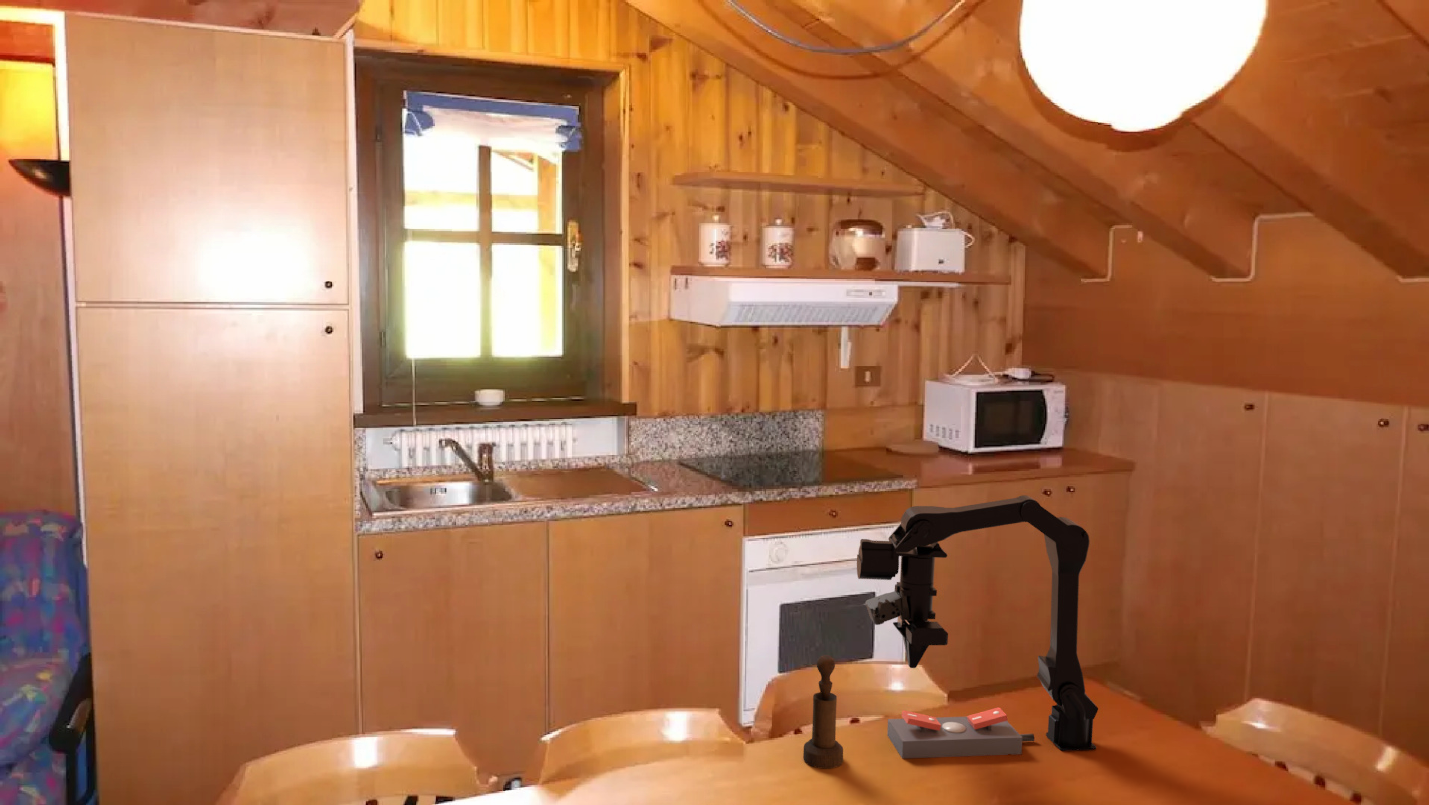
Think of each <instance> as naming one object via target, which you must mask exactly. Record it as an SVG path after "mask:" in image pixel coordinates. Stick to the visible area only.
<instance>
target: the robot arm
mask: <svg viewBox="0 0 1429 805" xmlns="http://www.w3.org/2000/svg"><path fill="white" fill-rule="evenodd" d="M1021 523H1028V524H1029V525H1031V526H1033V527H1034V528H1036V529H1037V531H1039V532H1041V533H1042V534H1043V536H1044V543H1045V544H1044V545H1045V549H1046V554H1047V556H1048V560H1049V563H1050V567H1051V595H1050V596H1051V600H1050V640H1049V641H1050V642H1049V643H1050V645H1049V650H1048V651H1047V653H1046V656H1044V655H1038V656H1037V662H1038V672H1037V674H1036V677H1037V679H1038V680H1039V681H1040V683H1041V685H1042V687H1043V689H1044V690H1045V691H1046V692H1047V694H1048V695H1049V697H1051V700H1053V701H1054V702H1055V703H1056V705H1052V706H1051V713H1050V714H1049V715H1048V723H1047V724H1048V725H1047V726H1048V727H1047V732H1046V733H1045V736H1046V737H1047V738H1048V739H1049V740H1050V742H1052V743H1053V744H1054V745H1055V747H1056V748H1057V749H1059V750H1060V751H1062V752H1068V751H1071V752H1072V751H1094V750H1097V746H1096V745H1095V743H1093V731H1094V730H1093V728H1094V720H1095V717H1096V715H1097V713H1098V711H1099V707H1098V706H1097V705H1096V703H1094V701H1093V700H1092V699H1091V698H1090V697H1089V696H1088V695H1087V693H1086V689H1085V688H1086V686H1085V681H1084V674H1083V671H1082V666H1081V663H1080V661H1079V657H1078V630H1079V628H1078V624H1079V595H1080V594H1079V593H1080V592H1079V591H1080V590H1079V588H1080V587H1079V586H1080V574H1081V571H1082V569H1083V567H1084V565H1085V563H1086V561H1087V557H1088V552H1089V547H1090V536H1089V533H1088V532H1087V530H1085V529H1084V528H1083V527H1082V526H1080V525H1079V524H1078V523H1077V522H1075V521H1074V520H1071V519H1070V518H1067V517H1064V516H1059V517H1058V516H1056V515H1054V514H1053V513H1051V512H1050V511H1048V510H1047V509H1045V507H1043V506H1041V504H1040V503H1039V502H1038V501H1037V500H1036V499H1034V498H1033V497H1032V496H1029V495H1023V494H1021V495H1020V496H1017V497H1014V498H1013V497H1012V498H1008V499H1001V500H995V501H987V502H980V503H976V504H969V505H963V506H956V507H944V506H943V507H942V506H936V505H914V506H911V507H908V508H907V509H906V510H904V512H903V514H902V516H901V519H900V524H899V525H898V526H897V527H896V529H895V530H894V531H893V532H892V533H891V535H890V536H889V537H888V540H872V539H869V538H868V539H867V538H861V539H860V543H859V546H858V547H859V548H858V554H856V574H857V579H858V580H876V581H877V580H880V581H881V580H884V581H891V580H892V579H893V578H895V577H896V575H898V574H900V576H899V581H897V582H896V584H894V591H892V592H886V593H883V594H880V595H878V596H874V597H872V598H869V599H867V600H866V601H865V602H864V603H865V606H866V609H867V612H868V615H869V619H870V620H871V621H872V623H873V625H875V626H879V625H882V624H884V623H885V622H886V623H887V622H889V621H891V620H894V619H896V618H897V620H896V621H894V622H892V624H893V626H894V627H895V628H896V630H897V631H898V632H899V634H900V635H901V637H902V639H903V640H902V641H903V643H904V649H905V653H906V658H907V659H906V660H907V665H908V668H910V669H916V668H917V667H918V665H919V664H920V661H921V660H922V658H923V657H924V654H925V652H926V651H927V649H928V648H929V646H947V645H948V643H949V642H948V641H949V633H948V632H947V631H946V630H945V628H944V627H942V625H941V624H940V623H939V622H938V621H931V620H936V612H935V611H934V610H933V601H934V597H937V593H938V591H937V589H936V588H935V587H934V583H935V582H934V581H935V566H936V565H935V563H936V558H938V559H939V558H941V559H945V558H947V557H948V554H947V552H946V551H945V550H944V548H942V547H941V546H940V543H939V542H941V541H944V540H946V539H948V538H950V537H952V536H953V535H956V534H959V533H963V532H969V531H976V530H981V529H987V528H994V527H995V528H996V527H1000V526H1001V527H1002V526H1008V525H1014V524H1015V525H1016V524H1021ZM900 557H901V558H900ZM899 568H900V569H899ZM899 570H900V571H899ZM899 572H900V573H899Z"/></svg>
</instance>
